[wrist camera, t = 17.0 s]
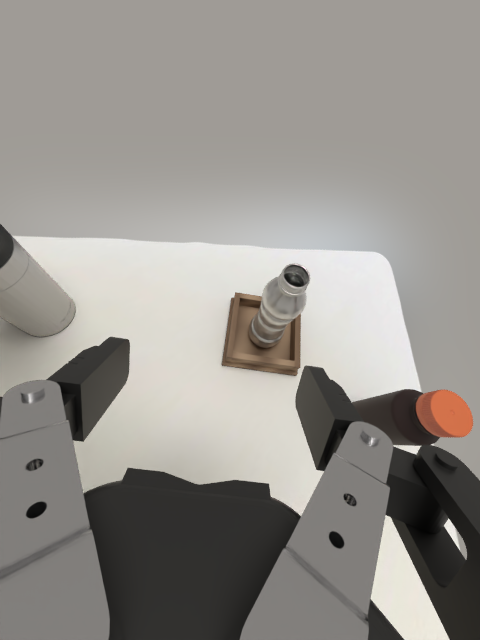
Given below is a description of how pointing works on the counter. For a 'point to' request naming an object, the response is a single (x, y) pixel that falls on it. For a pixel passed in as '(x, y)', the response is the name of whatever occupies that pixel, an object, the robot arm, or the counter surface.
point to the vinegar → (417, 416)
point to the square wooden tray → (246, 352)
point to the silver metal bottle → (279, 305)
